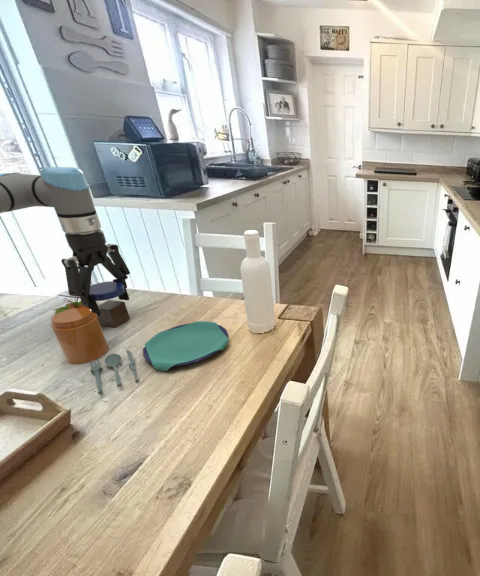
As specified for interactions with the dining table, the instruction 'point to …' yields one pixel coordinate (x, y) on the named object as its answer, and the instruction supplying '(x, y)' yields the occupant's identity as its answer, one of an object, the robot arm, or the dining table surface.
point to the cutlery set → (173, 348)
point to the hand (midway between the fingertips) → (110, 306)
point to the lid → (107, 290)
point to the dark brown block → (113, 313)
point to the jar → (79, 335)
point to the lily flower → (70, 306)
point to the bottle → (257, 286)
